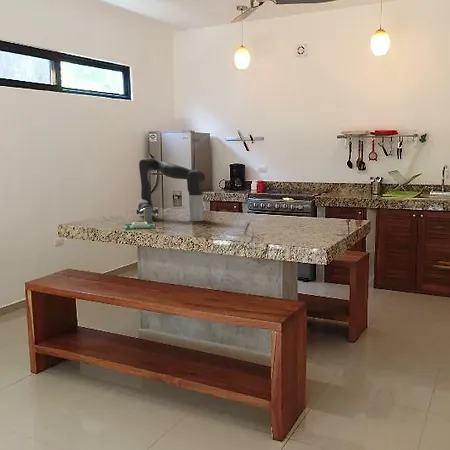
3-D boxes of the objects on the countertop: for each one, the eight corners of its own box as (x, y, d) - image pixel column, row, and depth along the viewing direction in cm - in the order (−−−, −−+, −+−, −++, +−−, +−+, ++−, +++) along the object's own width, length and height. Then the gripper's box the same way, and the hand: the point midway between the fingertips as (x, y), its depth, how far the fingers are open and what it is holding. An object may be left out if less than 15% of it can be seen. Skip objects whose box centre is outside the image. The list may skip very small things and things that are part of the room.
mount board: (153, 225, 323) (153, 220, 322) (155, 228, 309) (155, 223, 308) (125, 226, 319) (124, 221, 319) (125, 229, 306) (124, 224, 305)
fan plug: (152, 223, 329) (151, 206, 328) (152, 224, 325) (151, 207, 323) (144, 223, 328) (143, 207, 327) (144, 224, 324) (143, 207, 323)
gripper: (135, 204, 350) (136, 207, 334) (156, 204, 352) (158, 206, 337) (136, 215, 351) (137, 218, 335) (157, 214, 354) (158, 218, 338)
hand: (147, 212), depth 336 cm, fingers open, 8 cm apart
